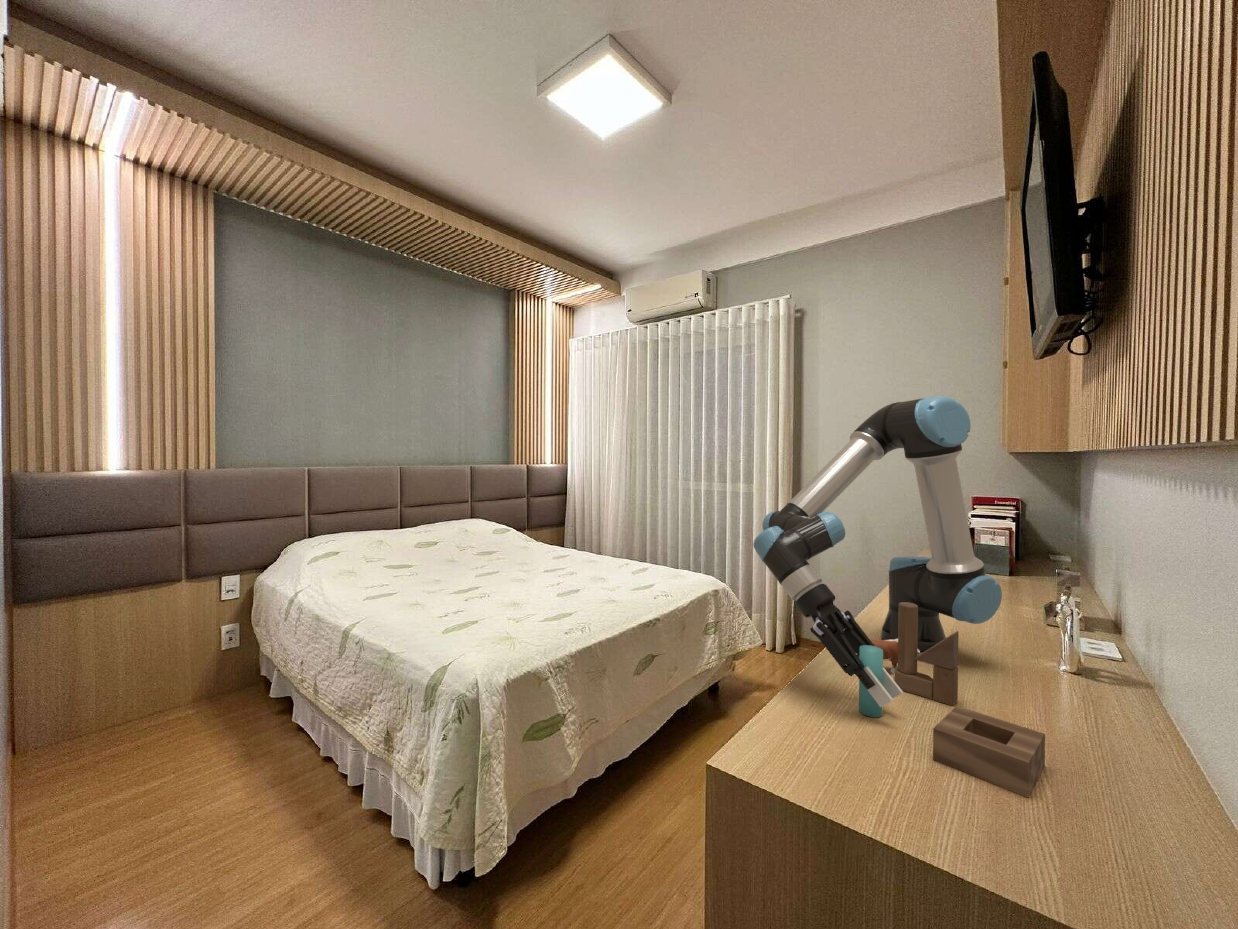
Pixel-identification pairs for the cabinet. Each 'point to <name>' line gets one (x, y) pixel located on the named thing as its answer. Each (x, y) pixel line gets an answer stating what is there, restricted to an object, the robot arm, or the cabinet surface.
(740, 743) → the cabinet surface
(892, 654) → the bull figurine
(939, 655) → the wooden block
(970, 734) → the socket block
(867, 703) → the peg
